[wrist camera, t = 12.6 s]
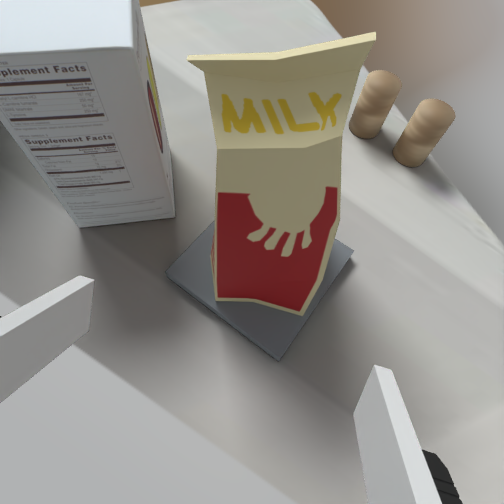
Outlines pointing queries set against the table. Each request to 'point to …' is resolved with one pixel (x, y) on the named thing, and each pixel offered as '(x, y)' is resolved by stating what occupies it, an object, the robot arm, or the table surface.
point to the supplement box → (87, 107)
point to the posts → (417, 130)
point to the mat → (249, 313)
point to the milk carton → (278, 166)
